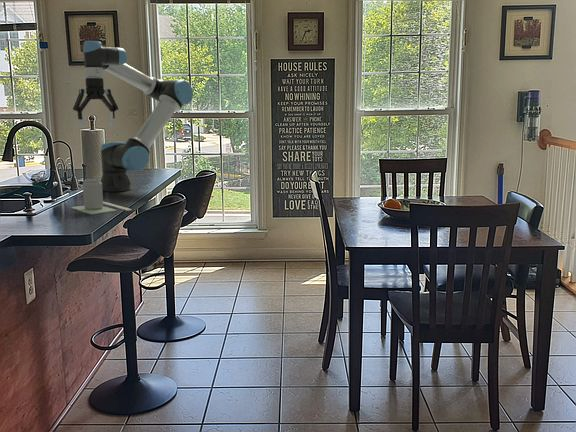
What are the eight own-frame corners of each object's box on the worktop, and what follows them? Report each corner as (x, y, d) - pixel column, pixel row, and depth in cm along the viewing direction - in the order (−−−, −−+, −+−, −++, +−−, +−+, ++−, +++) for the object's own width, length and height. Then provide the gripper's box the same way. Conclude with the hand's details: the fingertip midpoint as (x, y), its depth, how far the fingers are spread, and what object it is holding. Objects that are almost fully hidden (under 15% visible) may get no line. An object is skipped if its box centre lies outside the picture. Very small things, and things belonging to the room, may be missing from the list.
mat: (96, 204, 253) (96, 204, 253) (116, 211, 240) (116, 210, 240) (71, 208, 246) (70, 207, 245) (90, 214, 233) (90, 213, 233)
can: (79, 209, 241) (78, 179, 239) (93, 206, 248) (92, 177, 245) (93, 210, 238) (91, 181, 235) (107, 207, 244) (105, 178, 242)
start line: (104, 202, 258) (104, 201, 258) (131, 210, 241) (131, 209, 241) (99, 203, 257) (99, 202, 257) (127, 211, 240) (127, 209, 240)
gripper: (70, 76, 252) (73, 127, 256) (124, 78, 268) (126, 126, 273) (62, 77, 257) (66, 127, 261) (116, 78, 274) (118, 125, 278)
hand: (97, 126), depth 267 cm, fingers open, 13 cm apart
